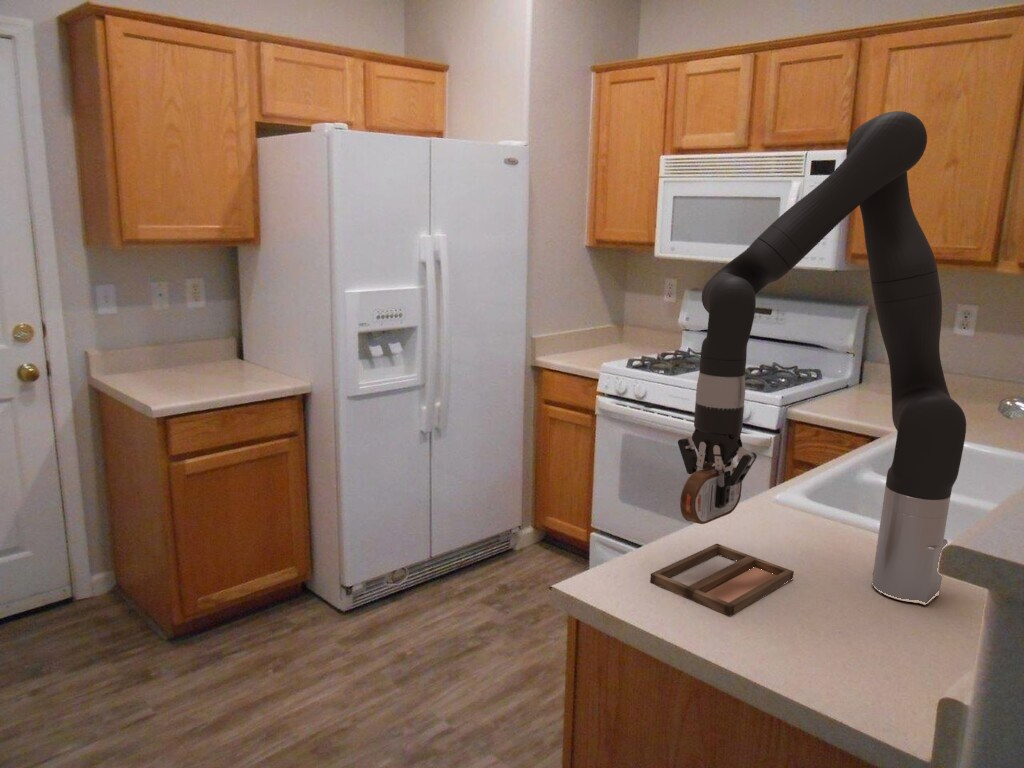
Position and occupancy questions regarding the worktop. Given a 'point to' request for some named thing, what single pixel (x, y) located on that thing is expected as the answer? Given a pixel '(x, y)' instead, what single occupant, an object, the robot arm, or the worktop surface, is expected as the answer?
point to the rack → (725, 580)
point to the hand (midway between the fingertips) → (711, 503)
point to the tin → (706, 497)
